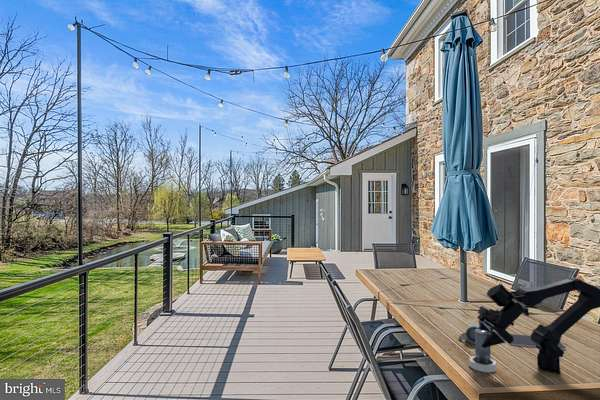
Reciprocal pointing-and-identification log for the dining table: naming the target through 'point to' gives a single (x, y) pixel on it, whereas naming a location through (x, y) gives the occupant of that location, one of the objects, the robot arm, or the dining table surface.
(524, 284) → the ceramic cottage
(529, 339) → the notebook
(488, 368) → the collar
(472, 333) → the ceramic mug
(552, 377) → the dining table surface
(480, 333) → the canister
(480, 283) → the dining table surface
